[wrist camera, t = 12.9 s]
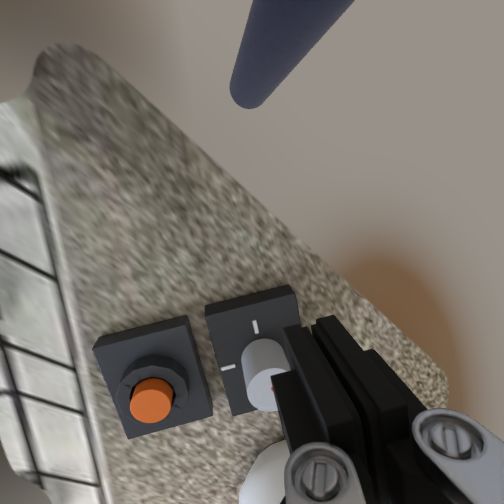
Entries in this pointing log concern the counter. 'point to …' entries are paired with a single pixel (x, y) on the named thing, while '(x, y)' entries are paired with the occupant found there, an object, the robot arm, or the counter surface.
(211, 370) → the counter surface
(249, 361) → the timer knob
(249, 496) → the cup
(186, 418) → the block
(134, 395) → the button
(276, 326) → the timer panel
